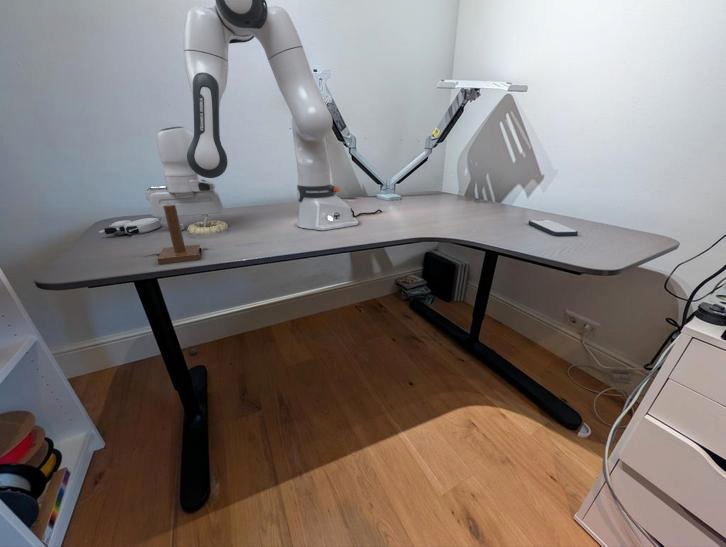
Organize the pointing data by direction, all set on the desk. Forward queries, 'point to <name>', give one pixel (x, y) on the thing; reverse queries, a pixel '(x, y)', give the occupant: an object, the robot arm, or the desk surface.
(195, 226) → the cream ring
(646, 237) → the desk surface
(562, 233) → the phone case
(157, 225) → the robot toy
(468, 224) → the desk surface
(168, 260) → the stand
